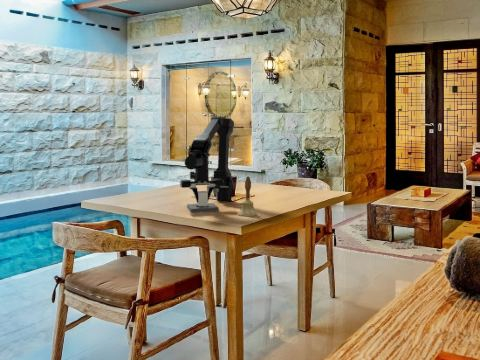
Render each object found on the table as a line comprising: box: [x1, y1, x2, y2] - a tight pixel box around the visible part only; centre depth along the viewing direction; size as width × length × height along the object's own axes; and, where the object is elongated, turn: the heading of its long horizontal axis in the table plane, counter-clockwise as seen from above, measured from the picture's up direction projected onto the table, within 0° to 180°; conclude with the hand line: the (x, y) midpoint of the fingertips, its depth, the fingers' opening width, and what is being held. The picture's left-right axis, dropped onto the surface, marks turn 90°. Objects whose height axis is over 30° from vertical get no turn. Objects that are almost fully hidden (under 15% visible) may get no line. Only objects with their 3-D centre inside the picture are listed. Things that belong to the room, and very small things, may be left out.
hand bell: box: [237, 176, 258, 217], centre depth 215 cm, size 8×8×16 cm
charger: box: [196, 190, 209, 206], centre depth 228 cm, size 4×4×6 cm
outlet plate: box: [186, 202, 220, 213], centre depth 229 cm, size 12×12×2 cm
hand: (202, 202), depth 228 cm, fingers closed on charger, 4 cm apart
